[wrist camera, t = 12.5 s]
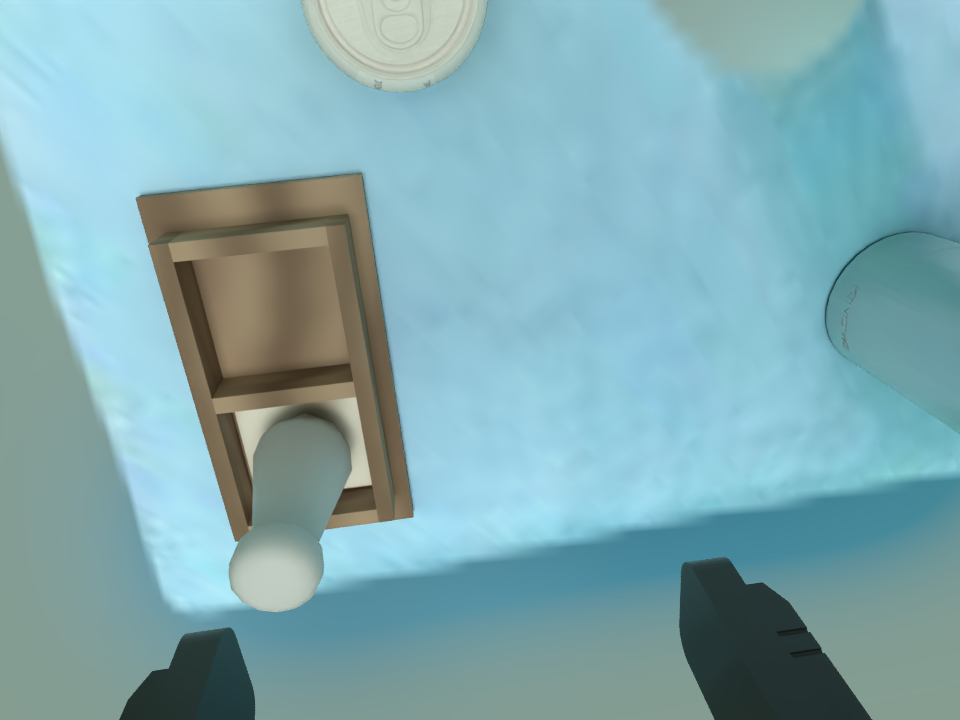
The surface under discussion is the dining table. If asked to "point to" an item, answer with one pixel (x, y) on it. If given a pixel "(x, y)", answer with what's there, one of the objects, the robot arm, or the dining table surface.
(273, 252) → the slot caddy
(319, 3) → the white yellow canister
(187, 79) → the dining table surface
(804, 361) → the dining table surface
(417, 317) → the dining table surface
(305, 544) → the salt shaker
